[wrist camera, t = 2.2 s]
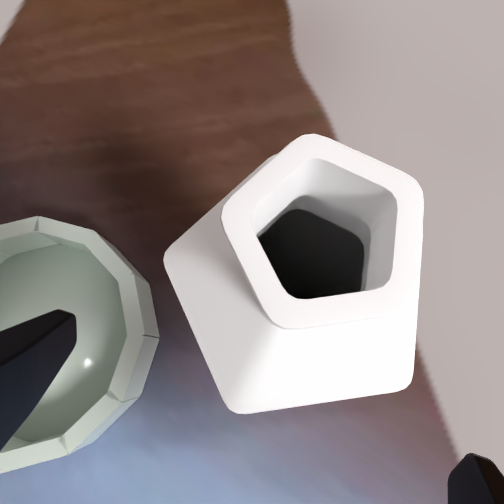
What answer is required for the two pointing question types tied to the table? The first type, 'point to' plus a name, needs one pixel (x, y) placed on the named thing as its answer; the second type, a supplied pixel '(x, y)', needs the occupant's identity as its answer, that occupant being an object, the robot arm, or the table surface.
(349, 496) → the table surface
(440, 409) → the table surface
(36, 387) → the robot arm
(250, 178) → the white faceted vase
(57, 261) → the ring dish
